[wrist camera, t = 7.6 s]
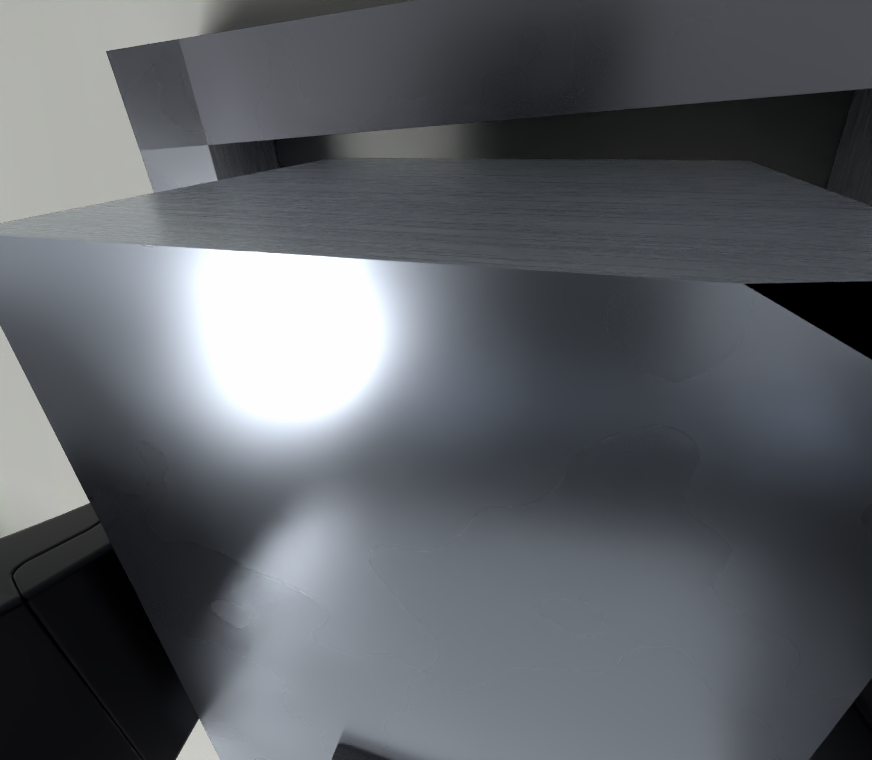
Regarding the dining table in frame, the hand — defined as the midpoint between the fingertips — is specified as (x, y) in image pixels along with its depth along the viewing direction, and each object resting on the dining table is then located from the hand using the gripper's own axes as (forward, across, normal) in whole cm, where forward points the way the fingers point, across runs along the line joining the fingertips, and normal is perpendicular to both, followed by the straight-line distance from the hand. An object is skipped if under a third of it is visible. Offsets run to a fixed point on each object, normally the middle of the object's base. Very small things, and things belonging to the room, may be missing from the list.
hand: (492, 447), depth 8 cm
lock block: (+1, 0, 0) cm, 1 cm away
